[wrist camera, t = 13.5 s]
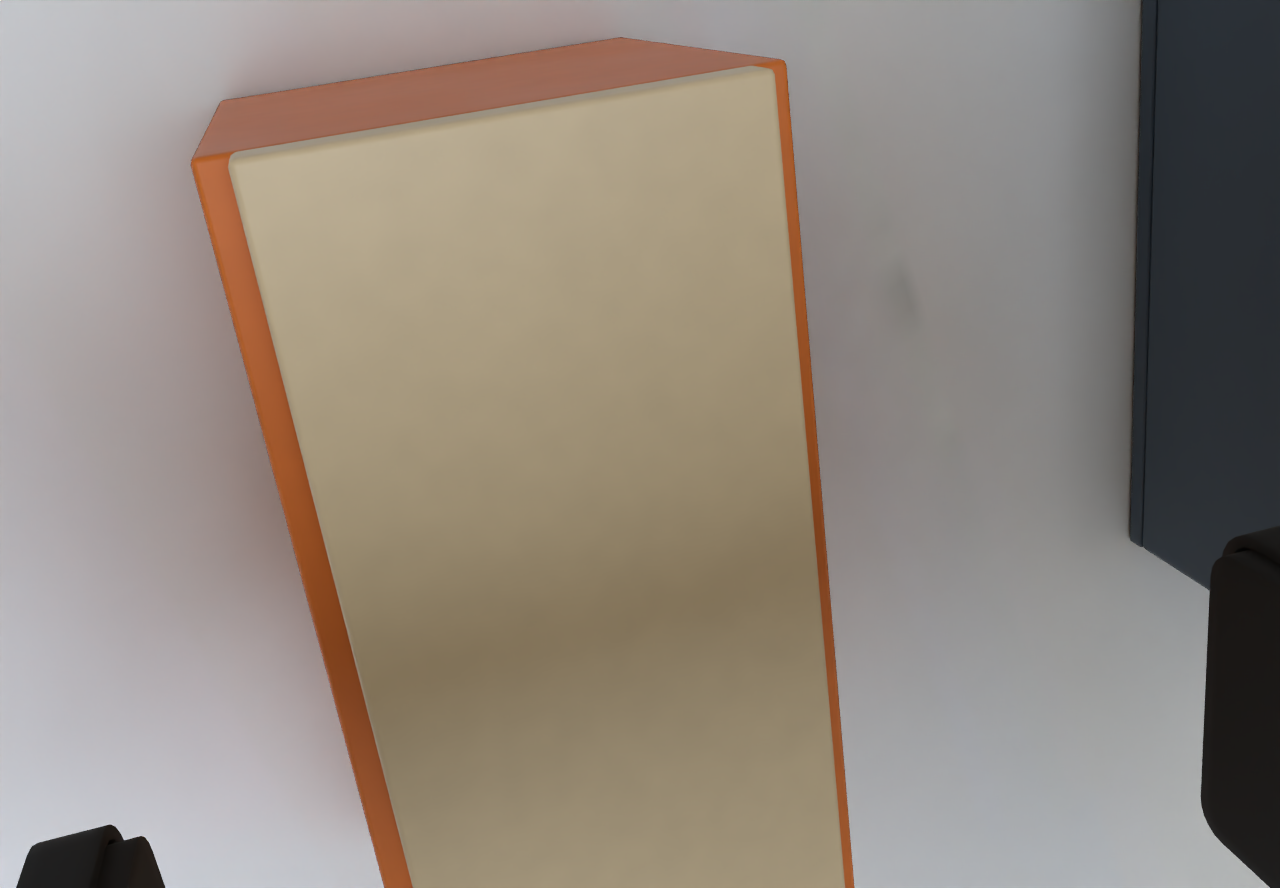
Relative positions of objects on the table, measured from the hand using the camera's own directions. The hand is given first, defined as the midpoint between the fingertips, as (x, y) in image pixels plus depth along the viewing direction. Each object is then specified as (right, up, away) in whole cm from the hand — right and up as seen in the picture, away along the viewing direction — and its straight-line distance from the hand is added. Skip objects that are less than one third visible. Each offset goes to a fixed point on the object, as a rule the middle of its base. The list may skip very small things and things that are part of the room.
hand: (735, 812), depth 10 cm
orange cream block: (-3, +3, +7) cm, 8 cm away
